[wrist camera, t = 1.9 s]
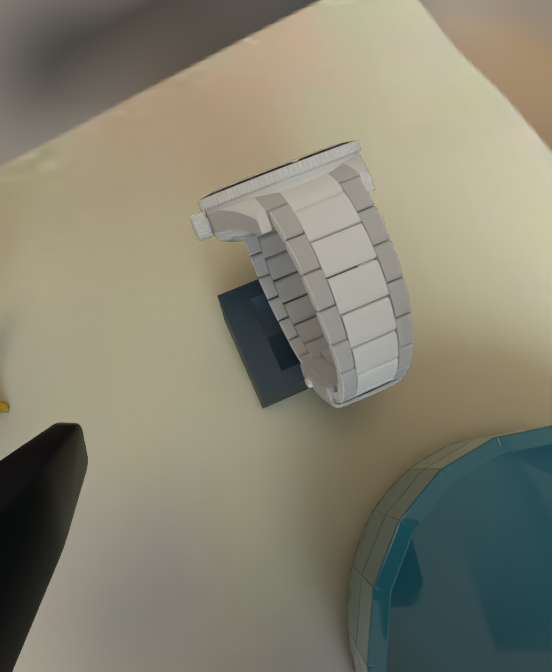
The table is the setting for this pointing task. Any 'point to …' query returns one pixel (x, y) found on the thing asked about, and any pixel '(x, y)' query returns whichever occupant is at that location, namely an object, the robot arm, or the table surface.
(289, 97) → the table surface
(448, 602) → the bowl
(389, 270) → the watch
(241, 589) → the table surface
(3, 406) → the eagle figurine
